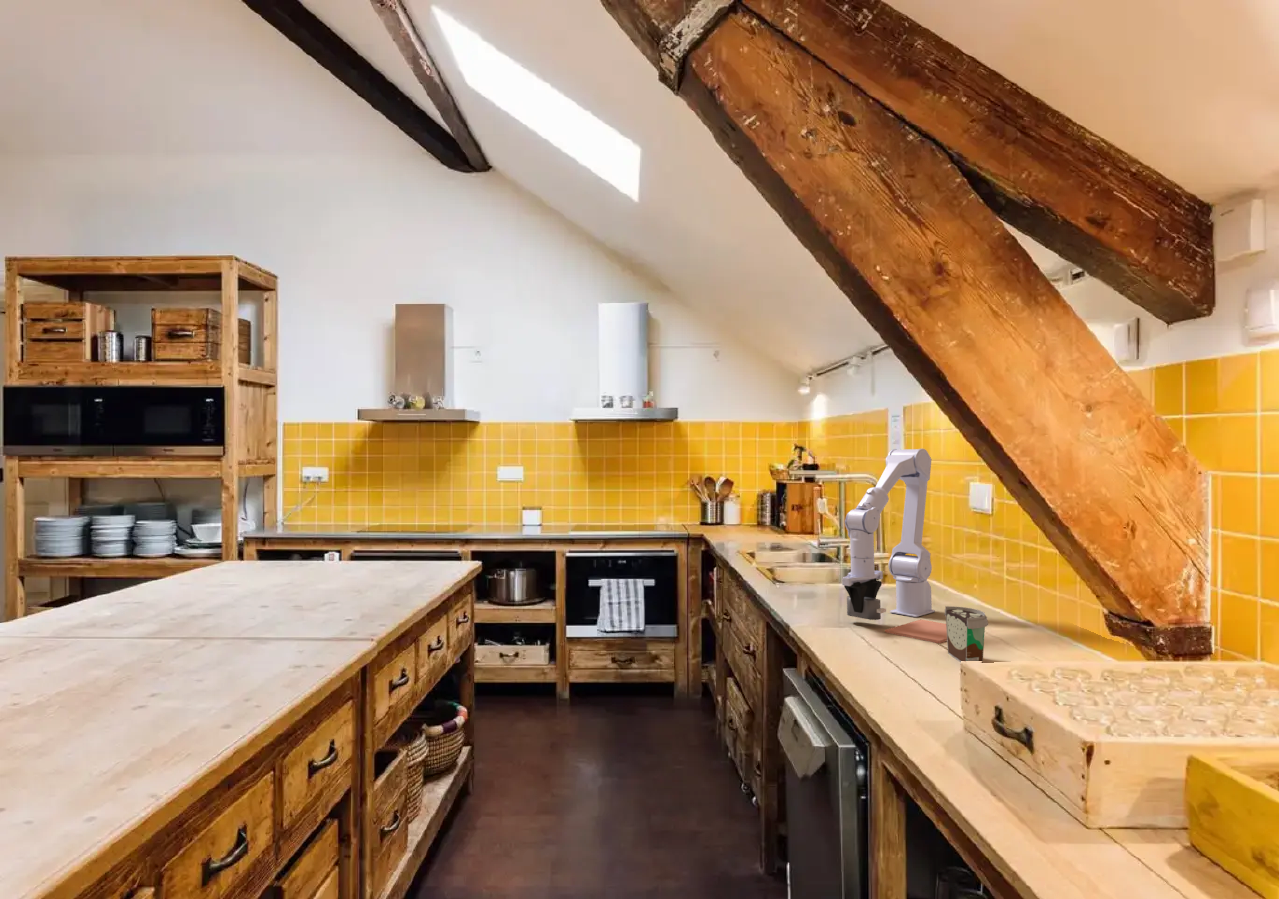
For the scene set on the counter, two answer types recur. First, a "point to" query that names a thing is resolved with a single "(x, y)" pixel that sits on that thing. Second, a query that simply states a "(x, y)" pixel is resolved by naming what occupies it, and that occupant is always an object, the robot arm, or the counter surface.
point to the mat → (922, 630)
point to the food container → (965, 633)
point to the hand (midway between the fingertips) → (863, 610)
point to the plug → (866, 609)
